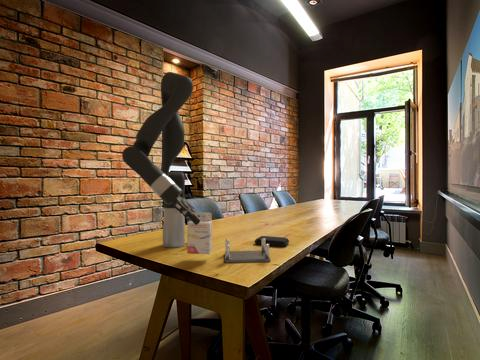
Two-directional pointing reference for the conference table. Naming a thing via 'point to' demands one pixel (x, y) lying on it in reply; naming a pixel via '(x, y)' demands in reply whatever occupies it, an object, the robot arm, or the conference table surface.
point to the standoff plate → (247, 254)
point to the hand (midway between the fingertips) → (199, 221)
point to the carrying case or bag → (273, 241)
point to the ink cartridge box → (200, 235)
